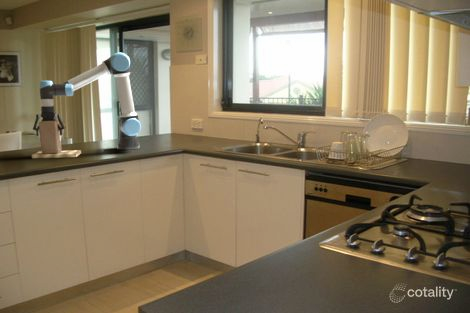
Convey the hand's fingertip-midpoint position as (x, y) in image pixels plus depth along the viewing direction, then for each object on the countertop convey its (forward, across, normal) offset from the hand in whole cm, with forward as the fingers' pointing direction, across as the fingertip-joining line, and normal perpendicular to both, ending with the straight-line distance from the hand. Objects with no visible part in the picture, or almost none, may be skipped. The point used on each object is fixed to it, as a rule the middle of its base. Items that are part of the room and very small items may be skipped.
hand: (50, 140), depth 285 cm
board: (+10, -4, 0) cm, 10 cm away
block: (+8, -1, +1) cm, 8 cm away
